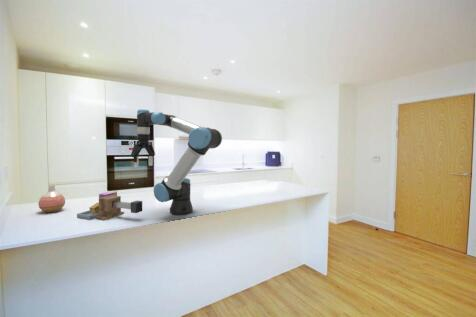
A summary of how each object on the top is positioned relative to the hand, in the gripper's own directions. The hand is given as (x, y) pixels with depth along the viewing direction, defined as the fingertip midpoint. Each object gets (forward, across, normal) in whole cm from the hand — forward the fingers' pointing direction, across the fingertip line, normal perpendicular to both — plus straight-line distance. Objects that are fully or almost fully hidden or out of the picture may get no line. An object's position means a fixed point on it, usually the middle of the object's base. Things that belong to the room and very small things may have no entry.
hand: (143, 166), depth 148 cm
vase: (+31, +18, -58) cm, 68 cm away
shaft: (+26, +13, -5) cm, 29 cm away
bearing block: (+31, +13, -15) cm, 36 cm away
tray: (+31, +16, -25) cm, 42 cm away
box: (+31, +2, -28) cm, 41 cm away
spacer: (+27, +14, -22) cm, 38 cm away
